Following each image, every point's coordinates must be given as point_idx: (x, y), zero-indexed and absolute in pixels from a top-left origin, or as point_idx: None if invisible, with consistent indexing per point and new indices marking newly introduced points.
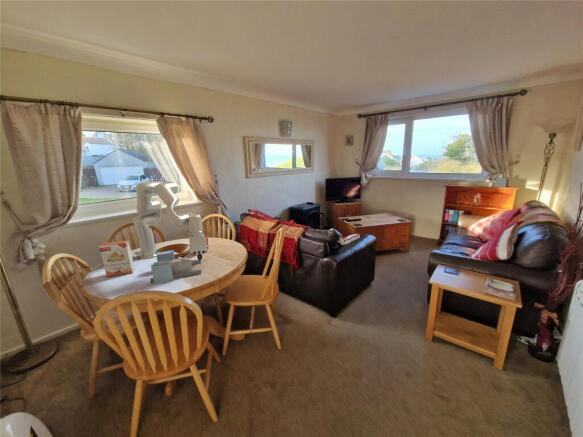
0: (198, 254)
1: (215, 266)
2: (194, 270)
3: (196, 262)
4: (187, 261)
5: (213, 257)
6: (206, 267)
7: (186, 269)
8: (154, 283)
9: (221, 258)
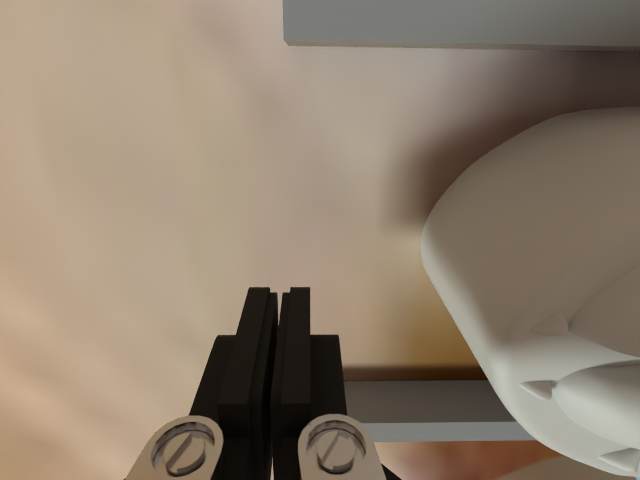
0: (297, 452)
1: (63, 202)
2: (420, 35)
3: (351, 398)
4: (607, 278)
5: None
6: (211, 225)
7: (560, 148)
8: None
9: (23, 415)
